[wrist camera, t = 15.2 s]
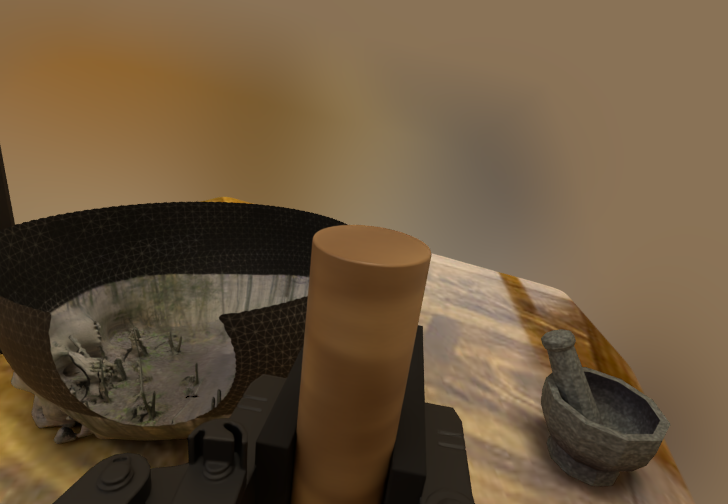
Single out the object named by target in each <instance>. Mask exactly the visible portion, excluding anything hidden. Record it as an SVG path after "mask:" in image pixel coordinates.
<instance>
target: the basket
mask: <svg viewBox="0 0 728 504" xmlns="http://www.w3.org/2000/svg"><path fill="white" fill-rule="evenodd" d="M340 225H347V224H344V223H343V222H340V221H337V220H335V219H333V218H329V217H326V216H322V215H318V214H314V213H310V212H305V211H300V210H295V209H289V208H284V207H275V206H269V205H266V206H265V205H258V204H246V203H233V202H231V203H227V202H171V203H167V202H164V203H153V204H151V203H147V204H137V205H127V206H122V205H121V206H118V207H115V206H112V207H109V208H101V209H92V210H84V211H76V212H73V213H66V214H61V215H60V214H59V215H56V216H49V217H47V218H40V219H38V220H31V221H29V222H23V223H22V224H16V225H14V226H13V227H7V228H6V229H1V230H0V349H1V351H2V353H3V355H4V357H5V358H6V360H7V361H8V363H9V364H10V366H11V367H12V369H13V370H14V373H13V377H12V380H11V384H12V385H13V386H14V387H15V388H17V389H21V390H25V391H29V392H31V393H33V394H34V395H35V397H34V403H33V408H32V417H33V420H34V421H35V423H36V425H37V426H38V427H39V428H45V427H48V426H52V427H53V426H62V428H60V429H59V430H58V432H57V434H56V436H55V438H54V441H55V443H56V444H61V443H65V442H68V441H72V440H75V439H76V437H79V438H80V437H84V436H88V435H90V434H92V433H94V434H95V436H96V437H97V438H99V439H124V440H169V439H182V438H188V436H189V435H190V434H191V432H192V431H193V430H194V429H195V428H196V427H198V426H199V425H201V424H203V423H204V422H207V421H210V420H213V419H219V418H229V417H230V416H231V414H232V413H233V411H234V409H235V408H236V407H237V404H238V403H239V401H240V400H241V398H243V395H244V393H245V391H246V390H247V388H248V387H249V385H250V383H252V382H253V381H254V380H256V379H257V378H258V377H260V376H261V375H263V374H266V375H272V376H277V377H283V378H287V377H288V375H289V373H290V371H291V369H292V367H293V365H294V363H295V361H296V359H297V357H298V354H299V352H300V350H301V348H302V346H303V344H304V335H305V324H306V312H307V300H308V288H309V276H310V264H311V252H312V240H313V237H314V235H315V234H316V233H317V232H318V231H320V230H322V229H324V228H328V227H333V226H340ZM188 395H189V396H190V397H189V398H185V397H186V396H188ZM195 395H198V396H199V397H191V396H195ZM78 423H80V424H82V429H81V432H80V433H79V434H76V433H74V432H73V430H72V429H70V427H74V425H76V424H78Z"/></svg>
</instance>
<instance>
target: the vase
mask: <svg viewBox="0 0 728 504" xmlns="http://www.w3.org/2000/svg"><path fill="white" fill-rule="evenodd" d="M14 225H15V223H14V217H13V212H12V206H11V201H10V195H9V190H8V184H7V179H6V174H5V168H4V163H3V158H2V153H1V147H0V230H1V229H6V228H7V227H13V226H14ZM0 353H2V351H1V349H0Z"/></svg>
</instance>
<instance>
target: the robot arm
mask: <svg viewBox="0 0 728 504" xmlns="http://www.w3.org/2000/svg"><path fill="white" fill-rule="evenodd" d="M303 347H304V344H303V346H302V348H301V350H300V352H299V354H298V357H297V359H296V361H295V363H294V365H293V367H292V369H291V371H290V373H289V375H288V377H287V378H283V377H277V376H272V375H266V374H263V375H261V376H260V377H258V378H257V379H256V380H254V381H253V382H252V383H250V385H249V387H248V388H247V390H246V391H245V393H244V395H243V398H241V400H240V401H239V403H238V404H237V407H236V408H235V409H234V411H233V413H232V414H231V416H230V417H229V418H219V419H213V420H210V421H207V422H204V423H203V424H201V425H199V426H198V427H196V428H195V429H194V430H193V431H192V432H191V434H190V435H189V436H188V452H189V463H186V464H184V465H178V466H172V467H160V468H150V465H149V463H148V461H147V459H146V458H144V457H143V456H141V455H140V454H134V453H123V454H117V455H114V456H111V457H109V458H106V459H104V460H102V461H101V462H99V463H98V464H96V465H95V466H94V467H92V468H91V469H90V470H89V471H88V472H86V473H85V474H84V475H83V476H82V477H81V478H80V479H79V480H78V481H77V482H76V483H75V484H73V485H72V486H71V487H70V488H69V489H68V490H67V491H66V492H65V493H64V494H63V495H62V496H60V497H59V498H58V499H57V500H56V501H55V502H54V503H53V504H290V502H291V490H292V478H293V466H294V454H295V442H296V430H297V418H298V407H299V395H300V383H301V371H302V359H303ZM383 504H475V503H474V499H473V496H472V489H471V482H470V475H469V468H468V461H467V455H466V450H465V441H464V434H463V427H462V421H461V420H460V418H459V416H458V415H457V413H456V412H455V410H454V409H453V408H451V407H446V406H441V405H435V404H430V403H425V396H424V359H423V326H419V325H418V327H417V332H416V337H415V342H414V347H413V353H412V358H411V363H410V368H409V373H408V378H407V384H406V389H405V394H404V399H403V404H402V409H401V415H400V420H399V425H398V430H397V435H396V441H395V444H394V448H393V453H392V458H391V463H390V469H389V474H388V479H387V484H386V490H385V495H384V500H383Z"/></svg>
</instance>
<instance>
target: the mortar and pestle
mask: <svg viewBox="0 0 728 504" xmlns="http://www.w3.org/2000/svg"><path fill="white" fill-rule="evenodd" d="M541 340H542V344H543V346H544V347H545V348H546V349H547V351H548V355H549V359H550V364H551V368H552V373H551V374H550V375H549V376H548V377H546V380H545V383H544V386H543V389H542V397H541V406H542V409H543V413H544V417H545V420H546V423H547V426H548V429H549V432H550V436H549V438H548V440H547V446H548V449H549V452H550V456H551V458H552V459H553V460H554V461H555V462H556V463H557V464H558V465H559V466H560V467H561V468H562V469H563V470H564V471H565V472H566V473H567V474H568V475H569V476H572V477H574V478H576V479H578V480H580V481H582V482H585V483H587V484H589V485H591V486H612V485H613V484H614V482H615V480H616V478H617V477H618V475H619V472H620V471H634V470H636V469H639V468H641V467H644V466H646V465H647V464H648V463H649V461H650V460H651V459H652V458H653V457H654V455H655V454H656V453H657V451H658V448H659V446H660V444H661V442H662V440H663V438H664V436H665V433H666V431H667V430H668V428H669V426H670V423H669V421H668V420H667V419H666V417H665V416H664V415H663V413H662V412H661V411H660V409H659V408H658V407H657V405H656V404H655V402H654V401H653V400H652V399H650V398H649V397H647V396H646V395H644V394H643V393H641V392H639V391H638V390H636V389H635V388H633V387H632V386H630V385H629V384H627V383H626V382H624V381H623V380H621V379H618V378H615V377H612V376H610V375H607V374H604V373H601V372H598V371H595V370H592V369H590V368H587V367H582V366H581V363H580V361H579V358H578V355H577V353H576V350H575V347H574V344H575V341H576V340H575V337H574V335H573V334H572V333H571V332H570V331H568V330H553V331H551V332H548V333H546V334H545V335H544V336H543V337H542V338H541Z"/></svg>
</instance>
